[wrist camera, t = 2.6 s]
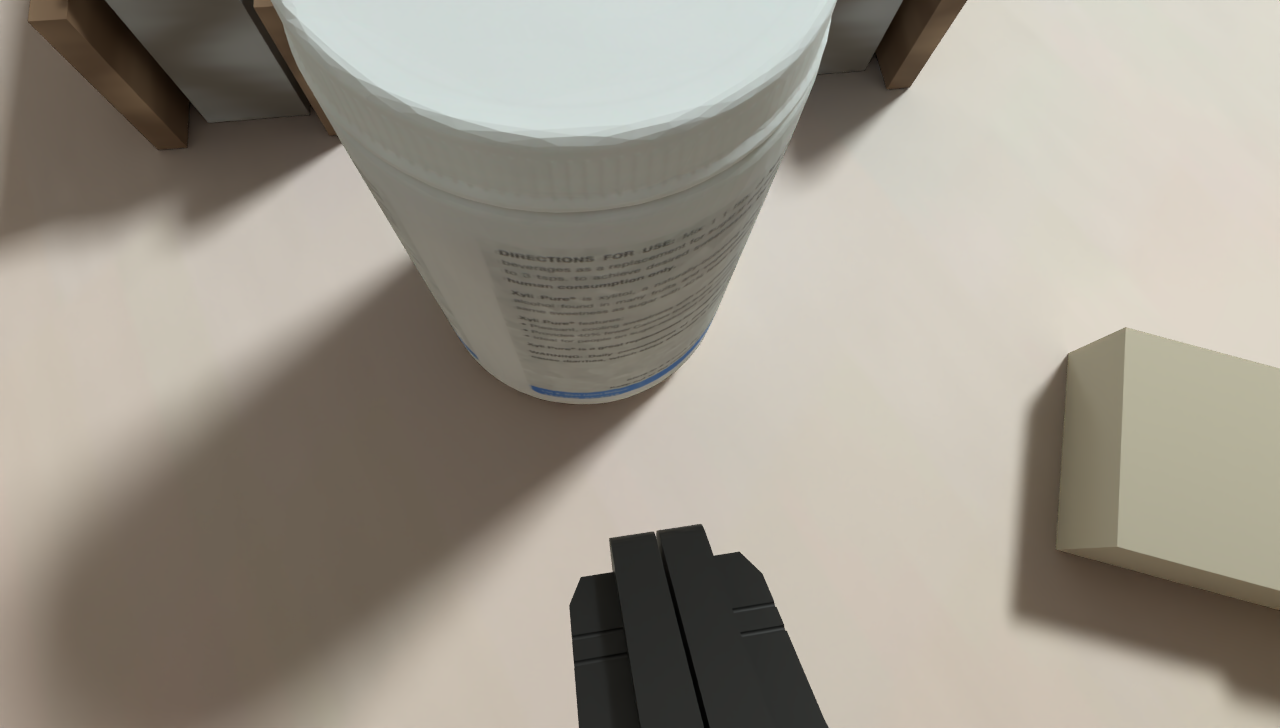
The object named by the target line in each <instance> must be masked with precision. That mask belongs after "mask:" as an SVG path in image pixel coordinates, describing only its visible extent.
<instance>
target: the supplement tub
mask: <svg viewBox="0 0 1280 728" xmlns="http://www.w3.org/2000/svg"><path fill="white" fill-rule="evenodd" d="M271 2H272V4H273V6H274V8H275V10H276V12H277V13H278V15H279V17H280V19H281V21H282V23H283V26H284V30H285V34H286V37H287V40H288V43H289V46H290V49H291V52H292V54H293V57H294V59H295V61H296V64H297V66H298V68H299V70H300V72H301V73H302V75H303V77H304V79H305V81H306V82H307V84H308V86H309V87H310V89H311V91H312V92H313V94H314V96H315V98H316V99H317V101H318V103H319V104H320V106H321V108H322V110H323V111H324V113H325V115H326V116H327V118H328V120H329V121H330V123H331V125H332V127H333V128H334V130H335V132H336V134H337V136H338V137H339V139H340V141H341V142H342V144H343V146H344V147H345V149H346V151H347V153H348V154H349V156H350V158H351V159H352V161H353V163H354V164H355V166H356V168H357V169H358V171H359V173H360V174H361V176H362V178H363V179H364V181H365V183H366V184H367V186H368V188H369V189H370V191H371V193H372V194H373V196H374V198H375V199H376V201H377V203H378V204H379V206H380V208H381V209H382V211H383V213H384V214H385V216H386V218H387V219H388V221H389V223H390V224H391V226H392V228H393V229H394V231H395V233H396V234H397V236H398V238H399V239H400V241H401V243H402V244H403V246H404V248H405V249H406V251H407V253H408V254H409V256H410V258H411V260H412V261H413V263H414V265H415V266H416V268H417V270H418V271H419V273H420V275H421V276H422V278H423V280H424V281H425V283H426V285H427V286H428V288H429V289H430V291H431V293H432V294H433V296H434V298H435V299H436V301H437V302H438V304H439V306H440V307H441V309H442V311H443V313H444V314H445V316H446V317H447V319H448V321H449V323H450V324H451V326H452V327H453V329H454V331H455V332H456V334H457V335H458V337H459V339H460V340H461V341H462V343H463V344H464V346H465V347H466V349H467V350H468V351H469V353H470V354H471V355H472V356H473V357H474V359H475V360H476V361H477V362H478V363H479V364H480V365H481V366H482V367H483V368H485V369H486V370H487V371H488V372H489V373H490V374H492V375H493V376H494V377H495V378H497V379H498V380H500V381H501V382H503V383H505V384H506V385H508V386H510V387H512V388H514V389H516V390H518V391H520V392H522V393H525V394H528V395H530V396H533V397H536V398H539V399H543V400H547V401H552V402H559V403H568V404H599V403H606V402H612V401H617V400H621V399H625V398H628V397H631V396H633V395H636V394H638V393H641V392H643V391H645V390H647V389H649V388H651V387H653V386H655V385H657V384H658V383H660V382H661V381H663V380H664V379H666V378H667V377H668V376H670V375H671V374H672V373H674V372H675V371H676V370H677V369H678V368H679V367H680V366H681V365H682V364H683V363H685V362H686V361H687V360H688V358H689V357H690V356H691V355H692V354H693V353H694V351H695V350H696V349H697V348H698V346H699V345H700V343H701V342H702V340H703V338H704V336H705V334H706V332H707V330H708V328H709V326H710V324H711V322H712V320H713V318H714V316H715V314H716V311H717V309H718V307H719V305H720V302H721V300H722V298H723V295H724V293H725V291H726V288H727V286H728V283H729V281H730V279H731V276H732V274H733V272H734V269H735V267H736V265H737V262H738V260H739V258H740V256H741V253H742V251H743V249H744V246H745V244H746V242H747V239H748V237H749V235H750V233H751V230H752V228H753V226H754V223H755V221H756V219H757V216H758V214H759V212H760V209H761V207H762V205H763V202H764V200H765V198H766V195H767V193H768V191H769V188H770V186H771V184H772V182H773V179H774V177H775V175H776V172H777V170H778V168H779V165H780V163H781V161H782V158H783V156H784V154H785V151H786V149H787V147H788V144H789V142H790V140H791V137H792V135H793V133H794V130H795V128H796V126H797V123H798V121H799V118H800V115H801V113H802V110H803V108H804V105H805V103H806V101H807V98H808V96H809V94H810V91H811V89H812V87H813V84H814V82H815V78H816V75H817V72H818V69H819V66H820V62H821V58H822V55H823V52H824V49H825V46H826V43H827V39H828V33H829V28H830V23H831V16H832V13H833V10H834V8H835V5H836V2H837V0H271Z"/></svg>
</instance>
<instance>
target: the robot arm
mask: <svg viewBox="0 0 1280 728" xmlns="http://www.w3.org/2000/svg"><path fill="white" fill-rule="evenodd" d="M609 541H610V551H611V561H612V570H613V572H611V573H604V574H598V575H592V576H586V577H581V578H580V581H579V583H578V585H577V588H576V590H575V593H574V595H573V598H572V600H571V603H570V605H569V606H570V619H571V632H572V644H573V657H574V667H575V668H574V670H575V682H576V695H577V708H578V721H579V728H828V726H827V724H826V722H825V720H824V718H823V715H822V713H821V711H820V708H819V706H818V703H817V701H816V699H815V696H814V694H813V692H812V689H811V687H810V685H809V682H808V680H807V678H806V675H805V673H804V671H803V668H802V666H801V664H800V661H799V659H798V656H797V654H796V652H795V649H794V647H793V645H792V642H791V640H790V638H789V635H788V633H787V631H785V628H784V624H783V621H782V619H781V617H780V614H779V612H778V609H777V607H775V605H774V600H773V598H772V595H771V593H770V591H769V588H768V586H767V584H766V581H765V579H764V577H763V574H762V573H761V572H760V571H759V570H758V569H757V568H756V567H755V566H754V565H753V564H752V563H751V562H750V561H748V560H747V559H746V558H745V557H744V556H743V555H742V554H741V553H740V552H735V553H729V554H722V555H716V556H713V553H712V550H711V547H710V544H709V541H708V539H707V536H706V533H705V530H704V528H703V526H702V525H701V524H697V525H691V526H684V527H678V528H671V529H665V530H658V531H657V533H656V536H655V533H654V532H647V533H640V534H634V535H627V536H621V537H614V538H609Z"/></svg>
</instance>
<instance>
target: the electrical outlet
mask: <svg viewBox="0 0 1280 728" xmlns="http://www.w3.org/2000/svg"><path fill="white" fill-rule="evenodd" d="M1056 550H1059V551H1063V552H1066V553H1070V554H1074V555H1077V556H1081V557H1085V558H1088V559H1092V560H1096V561H1099V562H1103V563H1107V564H1110V565H1114V566H1118V567H1122V568H1125V569H1129V570H1133V571H1136V572H1140V573H1144V574H1147V575H1151V576H1155V577H1158V578H1162V579H1166V580H1169V581H1173V582H1177V583H1181V584H1184V585H1188V586H1192V587H1195V588H1199V589H1203V590H1206V591H1210V592H1214V593H1217V594H1221V595H1225V596H1228V597H1232V598H1236V599H1240V600H1243V601H1247V602H1251V603H1254V604H1258V605H1262V606H1265V607H1269V608H1273V609H1276V610H1280V369H1279V368H1275V367H1272V366H1268V365H1264V364H1260V363H1257V362H1253V361H1249V360H1246V359H1242V358H1238V357H1234V356H1231V355H1227V354H1223V353H1219V352H1216V351H1212V350H1208V349H1205V348H1201V347H1197V346H1193V345H1190V344H1186V343H1182V342H1178V341H1175V340H1171V339H1167V338H1164V337H1160V336H1156V335H1152V334H1149V333H1145V332H1141V331H1137V330H1134V329H1130V328H1126V327H1125V328H1123V329H1121V330H1119V331H1117V332H1114V333H1112V334H1110V335H1108V336H1106V337H1103V338H1101V339H1099V340H1097V341H1095V342H1092V343H1090V344H1088V345H1086V346H1084V347H1081V348H1079V349H1077V350H1075V351H1073V352H1070V353H1068V364H1067V380H1066V396H1065V411H1064V427H1063V442H1062V458H1061V474H1060V489H1059V505H1058V520H1057V536H1056Z"/></svg>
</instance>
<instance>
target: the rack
mask: <svg viewBox="0 0 1280 728" xmlns="http://www.w3.org/2000/svg"><path fill="white" fill-rule="evenodd" d="M966 1H967V0H837V2H836V5H835V8H834V10H833V13H832V16H831V23H830V28H829V33H828V39H827V43H826V46H825V49H824V52H823V55H822V58H821V62H820V66H819V69H818V72H817V74H827V73H839V72H852V71H865V69H866V67H867V65H868V63H869V62H870V60H871V58H872V56H873V54H874V52H876V56H877V59H878V62H879V65H880V69H881V72H882V75H883V78H884V82H885V85H886V88H887V89H897V88H909V87H910V86H911V85H912V83H913V82H914V80H915V79H916V77H917V76H918V74H919V73H920V71H921V70H922V68H923V67H924V65H925V64H926V62H927V61H928V59H929V57H930V56H931V54H932V53H933V51H934V50H935V48H936V47H937V45H938V44H939V42H940V41H941V39H942V38H943V36H944V35H945V33H946V32H947V30H948V29H949V27H950V26H951V24H952V23H953V21H954V19H955V18H956V16H957V15H958V13H959V12H960V10H961V9H962V7H963V6H964V4H965V3H966ZM28 22H29V23H30V24H31V25H32V26H33V27H34V28H35V29H36V30H37V31H38V32H39V33H40V34H41V35H42V36H43V37H44V38H45V39H46V40H47V41H48V42H49V43H50V44H51V45H52V46H53V47H54V48H55V49H56V50H57V51H58V52H59V53H60V54H61V55H62V56H63V57H64V58H65V59H66V60H67V61H68V62H69V63H70V64H71V65H72V66H73V67H74V68H75V69H76V70H77V71H78V72H79V73H80V74H81V75H82V76H83V77H84V78H85V79H86V80H87V81H88V82H89V83H91V84H92V85H93V86H94V87H95V88H96V89H97V90H98V91H99V92H100V93H101V94H102V95H103V96H104V97H105V98H106V99H107V100H108V101H109V102H110V103H111V104H112V105H113V106H114V107H115V108H116V109H117V110H118V111H119V112H120V113H121V114H122V115H123V116H124V117H125V118H126V119H127V120H128V121H129V122H130V123H131V124H132V125H133V126H134V127H135V128H136V129H137V130H138V131H139V132H140V133H141V134H142V135H143V136H144V137H145V138H146V139H147V140H148V141H149V142H150V143H151V144H152V145H153V146H154V147H156V148H157V149H158V150H164V149H176V148H187V141H188V119H189V100H190V102H191V103H192V104H193V105H194V106H195V108H196V109H197V110H198V111H199V112H200V113H201V115H202V116H203V117H204V118H205V119H206V121H207V122H208V123H211V122H224V121H236V120H249V119H261V118H274V117H286V116H299V115H310V111H309V102H310V104H311V105H312V107H313V109H314V110H315V112H316V114H317V116H318V117H319V119H320V121H321V122H322V124H323V126H324V127H325V129H326V131H327V132H328V134H329V136H332V135H337V134H336V132H335V130H334V128H333V127H332V125H331V123H330V121H329V120H328V118H327V116H326V115H325V113H324V111H323V110H322V108H321V106H320V104H319V103H318V101H317V99H316V98H315V96H314V94H313V92H312V91H311V89H310V87H309V86H308V84H307V82H306V81H305V79H304V77H303V75H302V73H301V72H300V70H299V68H298V66H297V64H296V61H295V59H294V57H293V54H292V52H291V49H290V46H289V43H288V40H287V37H286V34H285V30H284V26H283V23H282V21H281V19H280V17H279V15H278V13H277V12H276V10H275V8H274V6H273V4H272V2H271V0H30V6H29V14H28Z"/></svg>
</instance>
